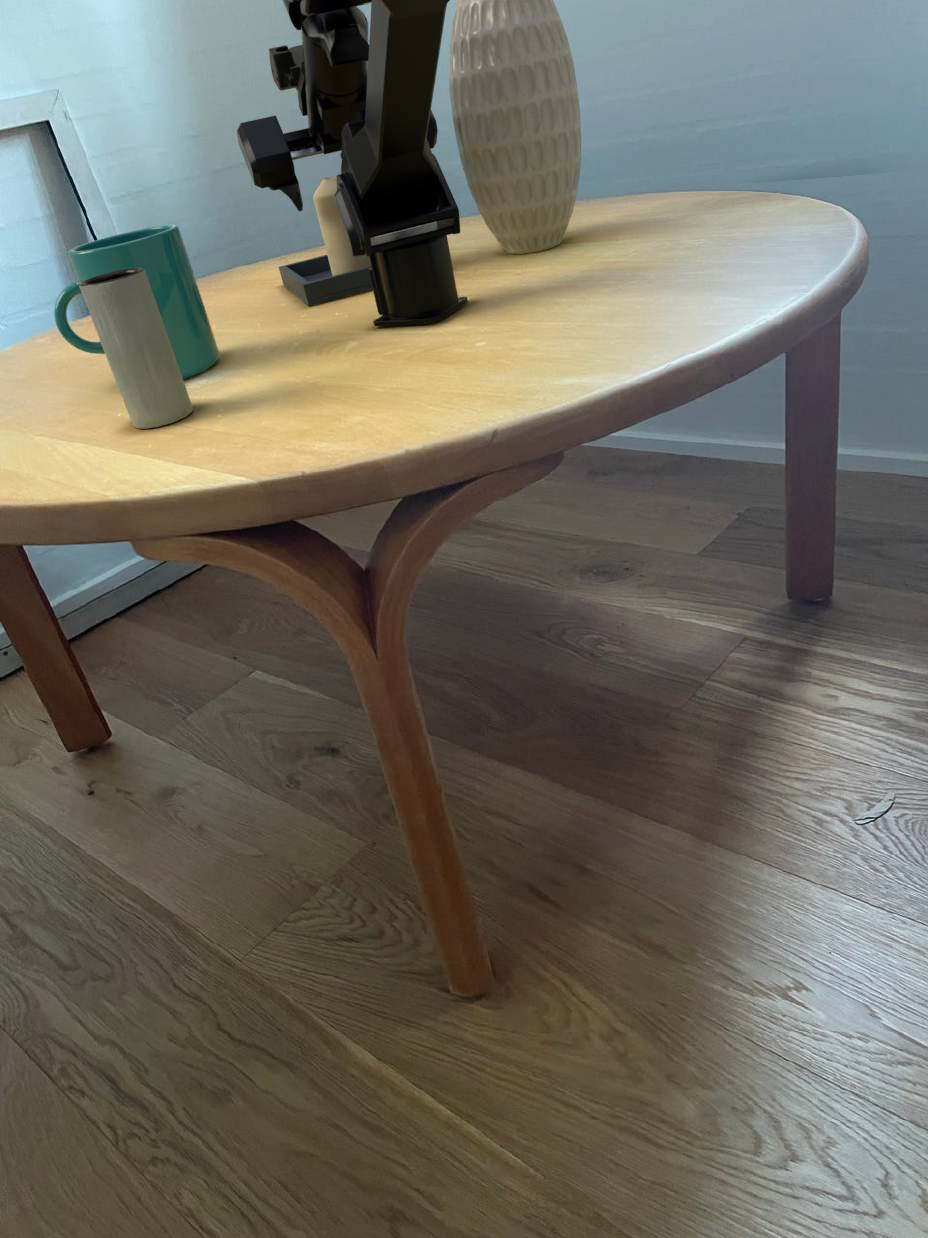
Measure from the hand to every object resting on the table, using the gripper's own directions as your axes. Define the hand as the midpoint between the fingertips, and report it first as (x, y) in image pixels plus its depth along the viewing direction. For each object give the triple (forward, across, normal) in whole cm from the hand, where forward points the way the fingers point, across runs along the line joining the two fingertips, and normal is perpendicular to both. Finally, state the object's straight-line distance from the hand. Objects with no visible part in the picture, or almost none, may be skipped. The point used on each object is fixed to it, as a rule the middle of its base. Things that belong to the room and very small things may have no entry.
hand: (340, 197), depth 97 cm
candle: (+6, 0, +5) cm, 8 cm away
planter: (-18, +24, +30) cm, 42 cm away
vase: (+1, -18, +11) cm, 21 cm away
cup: (-8, +24, +20) cm, 32 cm away
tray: (+7, 0, +5) cm, 9 cm away
